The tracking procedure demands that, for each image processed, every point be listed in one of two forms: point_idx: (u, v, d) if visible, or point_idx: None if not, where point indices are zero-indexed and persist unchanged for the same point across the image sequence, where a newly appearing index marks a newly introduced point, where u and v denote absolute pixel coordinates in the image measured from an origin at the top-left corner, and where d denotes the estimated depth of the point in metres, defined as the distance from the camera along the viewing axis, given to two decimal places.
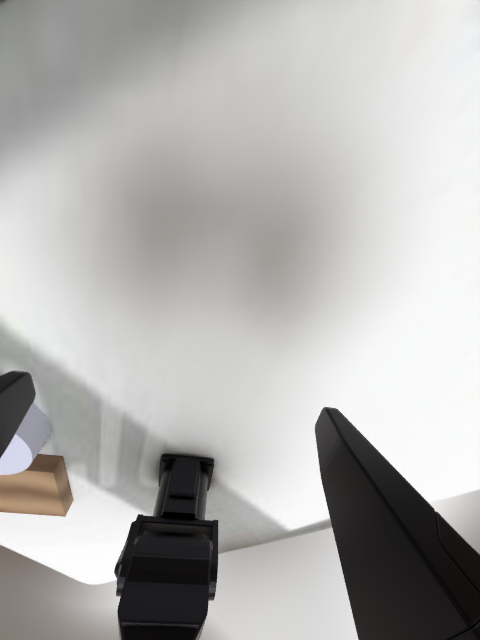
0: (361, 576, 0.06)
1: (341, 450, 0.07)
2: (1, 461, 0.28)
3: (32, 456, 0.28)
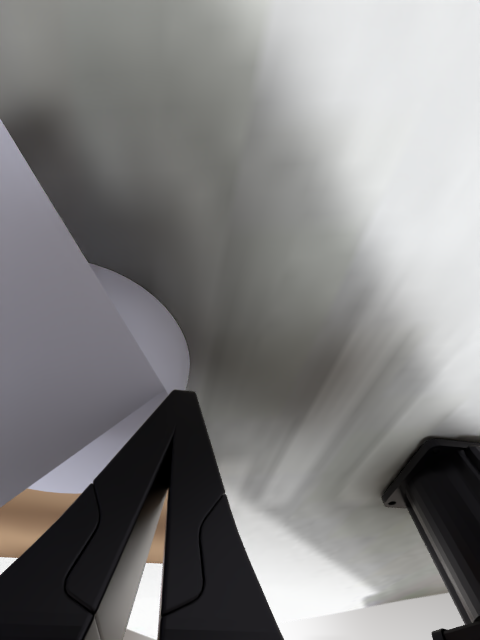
0: None
1: None
2: (84, 458, 0.10)
3: None
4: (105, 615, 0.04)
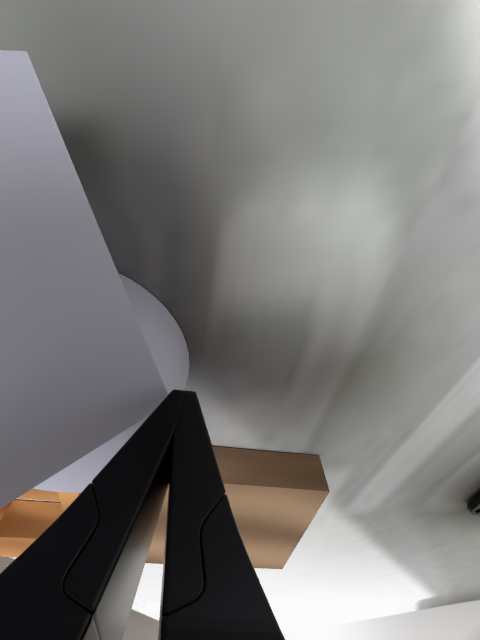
0: (163, 565, 0.06)
1: None
2: None
3: None
4: (104, 615, 0.04)
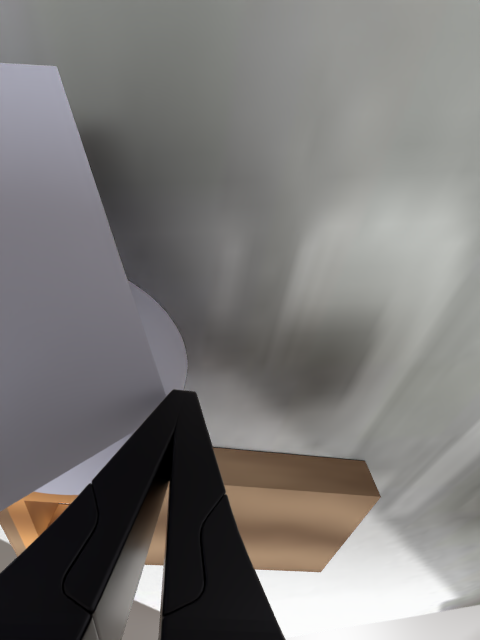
0: None
1: None
2: None
3: None
4: (103, 615, 0.04)
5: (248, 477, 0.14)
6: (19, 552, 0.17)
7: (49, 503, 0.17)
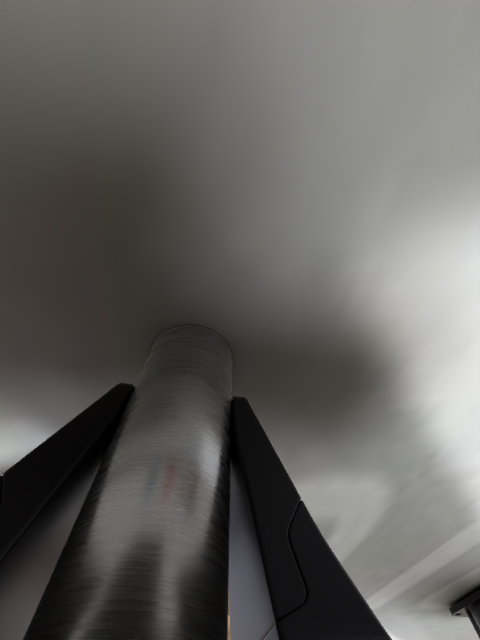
0: (234, 569, 0.06)
1: (233, 439, 0.07)
2: None
3: None
4: None
5: None
6: None
7: None
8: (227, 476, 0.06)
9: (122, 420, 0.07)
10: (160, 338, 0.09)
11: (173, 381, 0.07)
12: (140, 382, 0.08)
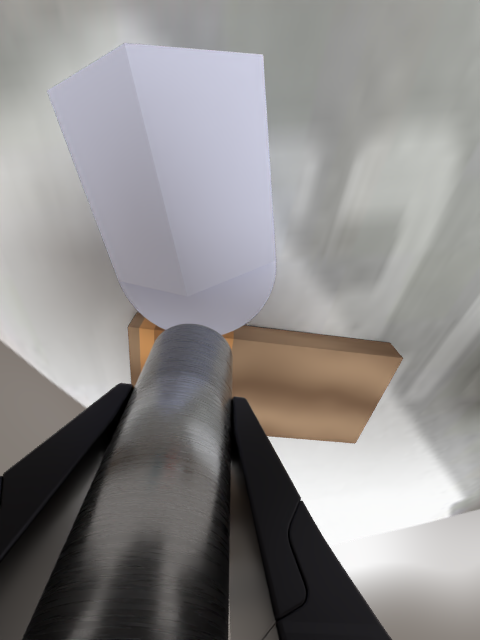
0: (234, 569, 0.06)
1: (233, 439, 0.07)
2: (206, 306, 0.17)
3: (263, 304, 0.17)
4: None
5: (309, 344, 0.20)
6: None
7: None
8: (227, 475, 0.06)
9: (122, 419, 0.07)
10: (160, 337, 0.09)
11: (173, 380, 0.07)
12: (140, 381, 0.08)
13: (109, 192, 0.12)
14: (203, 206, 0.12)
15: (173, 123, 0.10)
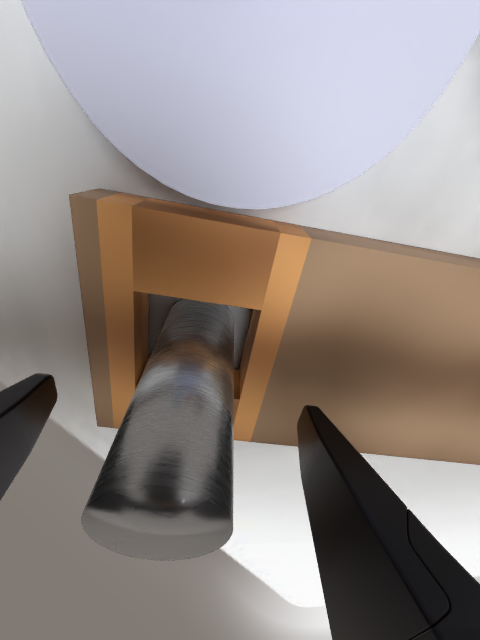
0: (335, 575, 0.06)
1: (319, 448, 0.07)
2: (274, 97, 0.06)
3: (433, 101, 0.06)
4: None
5: (463, 263, 0.10)
6: (101, 411, 0.12)
7: (144, 341, 0.12)
8: (231, 394, 0.08)
9: (151, 357, 0.09)
10: (175, 305, 0.12)
11: (189, 330, 0.09)
12: (162, 333, 0.10)
13: None
14: None
15: None
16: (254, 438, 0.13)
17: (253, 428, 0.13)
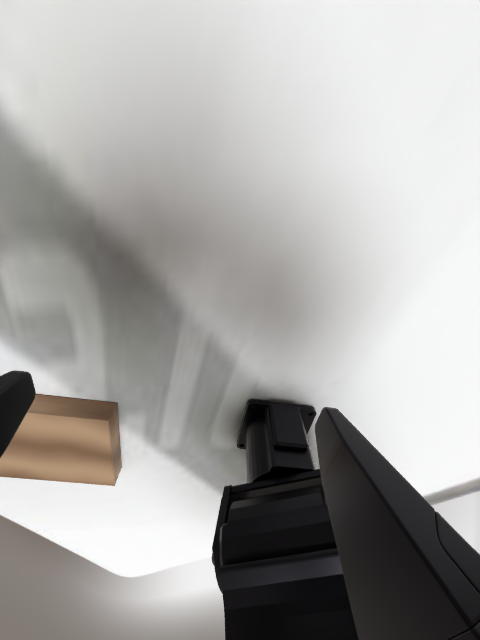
0: (361, 576, 0.06)
1: (341, 450, 0.07)
2: None
3: None
4: None
5: None
6: None
7: None
8: None
9: None
10: None
11: None
12: None
13: None
14: None
15: None
16: None
17: None
